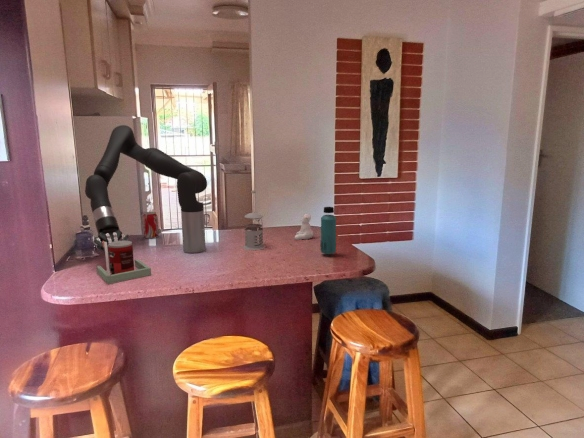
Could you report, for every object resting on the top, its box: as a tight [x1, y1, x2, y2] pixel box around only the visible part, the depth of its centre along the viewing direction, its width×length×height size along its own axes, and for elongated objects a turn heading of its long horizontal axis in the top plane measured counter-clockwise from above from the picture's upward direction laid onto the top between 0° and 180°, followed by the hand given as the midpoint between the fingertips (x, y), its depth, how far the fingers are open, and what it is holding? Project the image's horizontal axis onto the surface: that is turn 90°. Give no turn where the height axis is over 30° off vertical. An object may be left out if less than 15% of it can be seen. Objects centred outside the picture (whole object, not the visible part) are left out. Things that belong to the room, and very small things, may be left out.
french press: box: [242, 190, 266, 251], centre depth 179 cm, size 10×12×25 cm
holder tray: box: [96, 241, 152, 285], centre depth 144 cm, size 14×14×14 cm
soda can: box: [141, 211, 160, 240], centre depth 196 cm, size 7×7×12 cm
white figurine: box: [294, 213, 314, 241], centre depth 195 cm, size 10×9×12 cm
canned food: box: [108, 240, 135, 275], centre depth 146 cm, size 8×8×11 cm
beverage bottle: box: [320, 206, 337, 255], centre depth 166 cm, size 6×7×20 cm
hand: (117, 259), depth 150 cm, fingers closed
